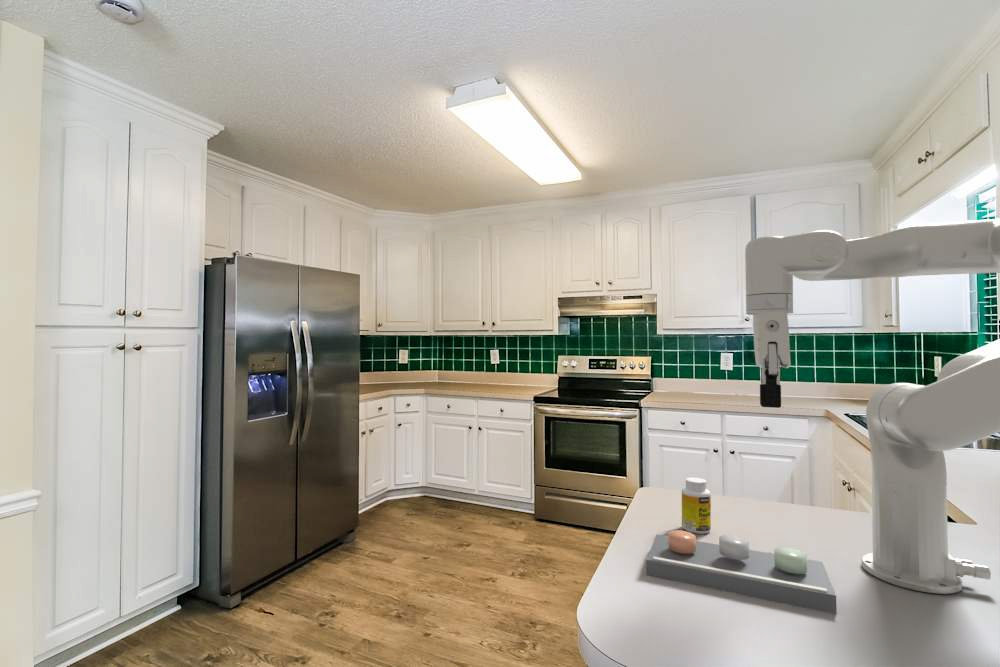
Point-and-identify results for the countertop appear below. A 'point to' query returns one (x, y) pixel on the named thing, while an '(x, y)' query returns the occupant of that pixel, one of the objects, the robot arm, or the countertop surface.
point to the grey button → (734, 547)
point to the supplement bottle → (696, 506)
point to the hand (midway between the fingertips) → (770, 406)
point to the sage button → (790, 560)
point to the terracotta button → (682, 542)
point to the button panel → (743, 575)
